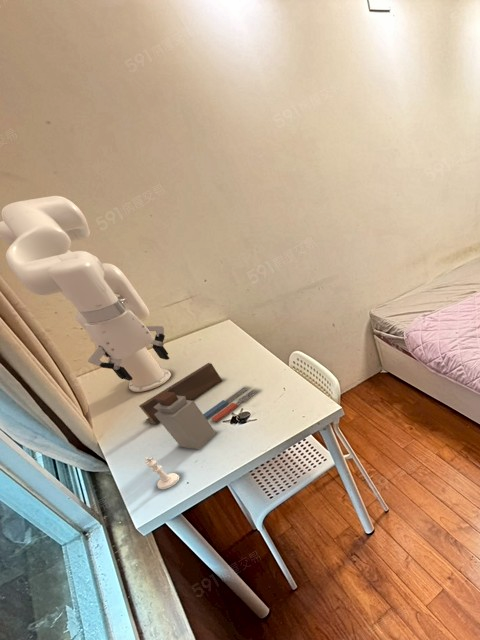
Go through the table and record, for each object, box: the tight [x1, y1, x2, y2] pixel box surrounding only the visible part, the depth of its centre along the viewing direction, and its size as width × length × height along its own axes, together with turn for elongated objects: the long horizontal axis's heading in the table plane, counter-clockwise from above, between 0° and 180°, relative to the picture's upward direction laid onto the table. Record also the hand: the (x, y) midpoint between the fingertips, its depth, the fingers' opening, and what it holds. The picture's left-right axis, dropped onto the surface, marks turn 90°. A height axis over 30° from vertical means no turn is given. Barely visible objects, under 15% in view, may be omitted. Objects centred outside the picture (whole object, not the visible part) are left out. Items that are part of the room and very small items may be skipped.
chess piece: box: [144, 456, 180, 490], centre depth 103 cm, size 5×5×10 cm
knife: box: [202, 387, 249, 420], centre depth 131 cm, size 2×17×1 cm, turn 159°
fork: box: [210, 389, 259, 423], centre depth 130 cm, size 3×16×1 cm, turn 159°
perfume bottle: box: [154, 392, 217, 450], centre depth 113 cm, size 7×7×18 cm
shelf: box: [138, 362, 223, 426], centre depth 131 cm, size 5×24×8 cm, turn 159°
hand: (147, 368), depth 103 cm, fingers open, 9 cm apart
